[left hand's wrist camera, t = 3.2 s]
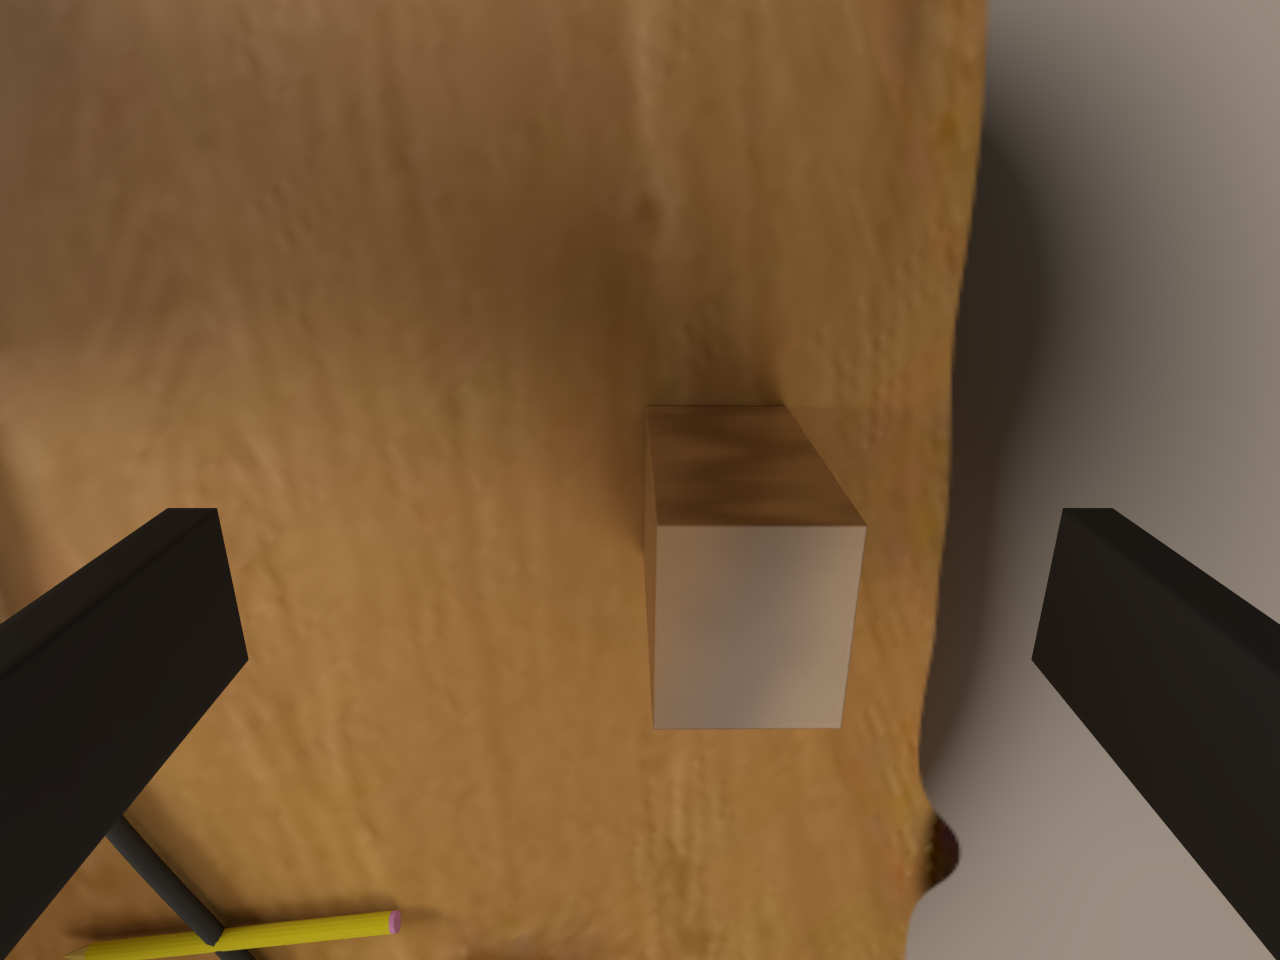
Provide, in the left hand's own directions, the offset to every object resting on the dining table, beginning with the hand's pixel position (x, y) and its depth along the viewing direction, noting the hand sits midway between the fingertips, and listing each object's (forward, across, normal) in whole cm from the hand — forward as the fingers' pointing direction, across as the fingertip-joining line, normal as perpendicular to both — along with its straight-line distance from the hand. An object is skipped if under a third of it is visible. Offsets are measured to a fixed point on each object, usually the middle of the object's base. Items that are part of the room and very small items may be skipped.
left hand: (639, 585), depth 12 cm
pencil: (+17, +20, +28) cm, 39 cm away
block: (+17, -3, +5) cm, 18 cm away
